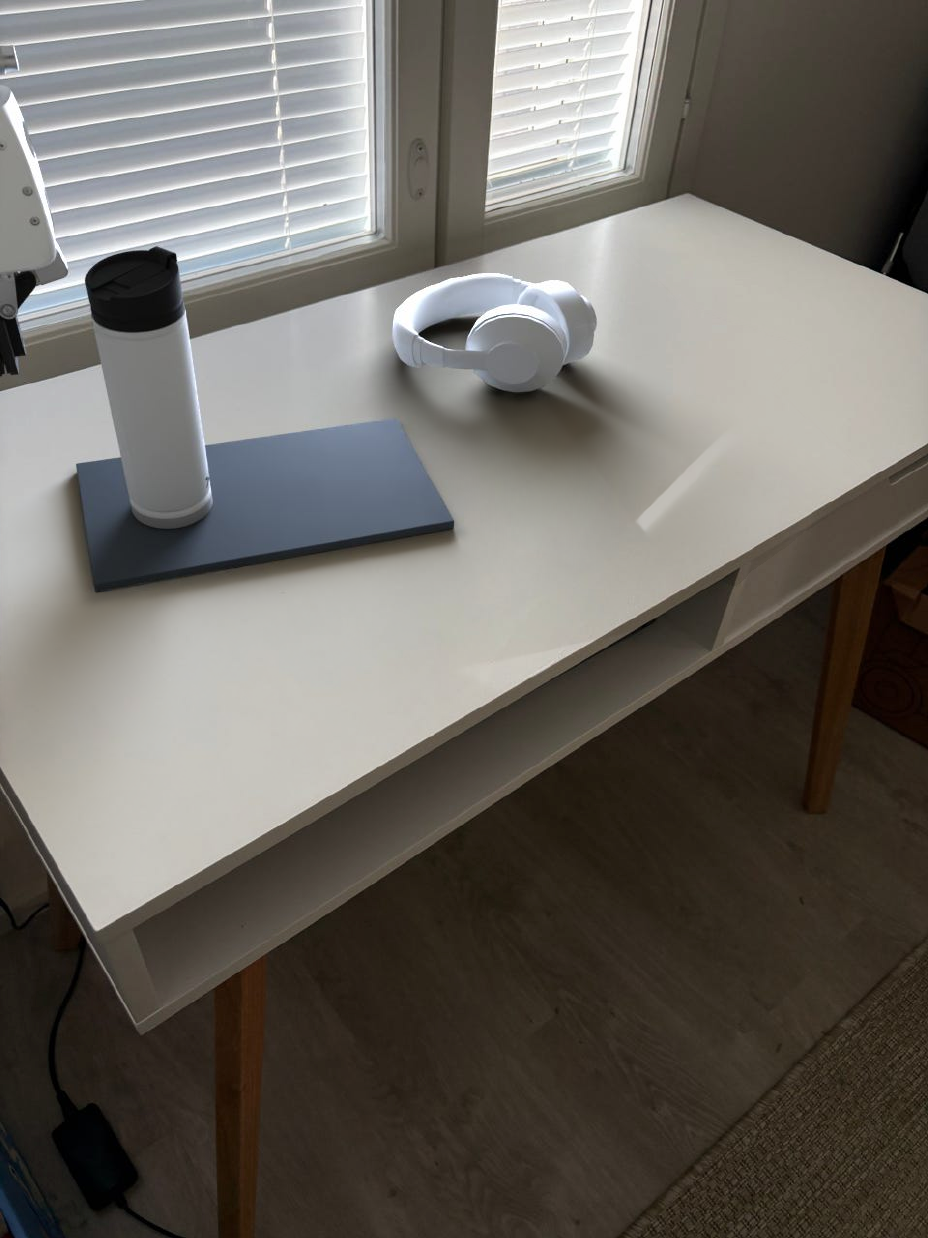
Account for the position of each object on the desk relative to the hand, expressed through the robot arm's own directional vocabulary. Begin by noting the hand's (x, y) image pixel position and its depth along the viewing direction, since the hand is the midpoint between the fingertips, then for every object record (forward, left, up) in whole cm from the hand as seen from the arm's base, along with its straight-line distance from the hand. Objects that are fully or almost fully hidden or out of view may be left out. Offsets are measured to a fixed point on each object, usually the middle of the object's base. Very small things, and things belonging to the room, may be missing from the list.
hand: (5, 365), depth 69 cm
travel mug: (+9, 0, -14) cm, 17 cm away
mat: (+16, 0, -14) cm, 22 cm away
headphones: (+43, +18, -15) cm, 49 cm away
